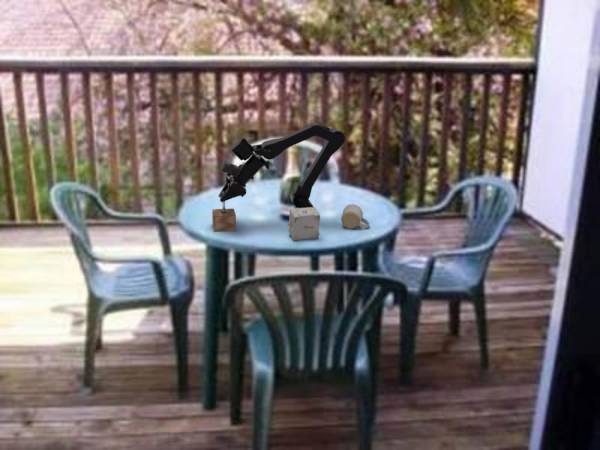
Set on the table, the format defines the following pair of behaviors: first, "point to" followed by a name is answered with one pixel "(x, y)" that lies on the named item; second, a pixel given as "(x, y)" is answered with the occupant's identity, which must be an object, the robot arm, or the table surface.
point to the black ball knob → (222, 202)
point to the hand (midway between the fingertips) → (219, 199)
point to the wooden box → (224, 220)
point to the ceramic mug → (353, 217)
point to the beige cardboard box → (304, 223)
